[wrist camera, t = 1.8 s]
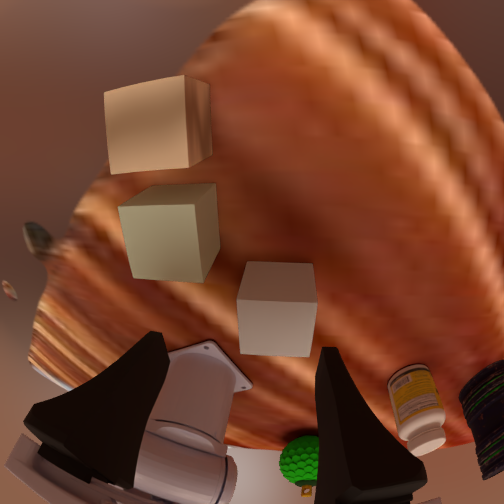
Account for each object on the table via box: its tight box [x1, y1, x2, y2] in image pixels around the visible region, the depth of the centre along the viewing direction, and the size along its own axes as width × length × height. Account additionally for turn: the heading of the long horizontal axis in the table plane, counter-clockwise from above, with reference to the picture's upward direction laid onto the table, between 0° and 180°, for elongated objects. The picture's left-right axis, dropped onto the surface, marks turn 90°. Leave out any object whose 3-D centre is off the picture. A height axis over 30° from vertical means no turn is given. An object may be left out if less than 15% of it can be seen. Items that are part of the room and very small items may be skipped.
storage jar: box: [459, 360, 504, 480], centre depth 20 cm, size 10×10×15 cm
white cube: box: [236, 261, 318, 357], centre depth 20 cm, size 5×5×5 cm
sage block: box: [118, 183, 220, 283], centre depth 18 cm, size 5×5×5 cm
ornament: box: [279, 436, 319, 497], centre depth 30 cm, size 8×8×10 cm
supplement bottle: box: [388, 364, 446, 456], centre depth 22 cm, size 5×5×10 cm
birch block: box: [104, 75, 213, 174], centre depth 15 cm, size 5×5×5 cm
